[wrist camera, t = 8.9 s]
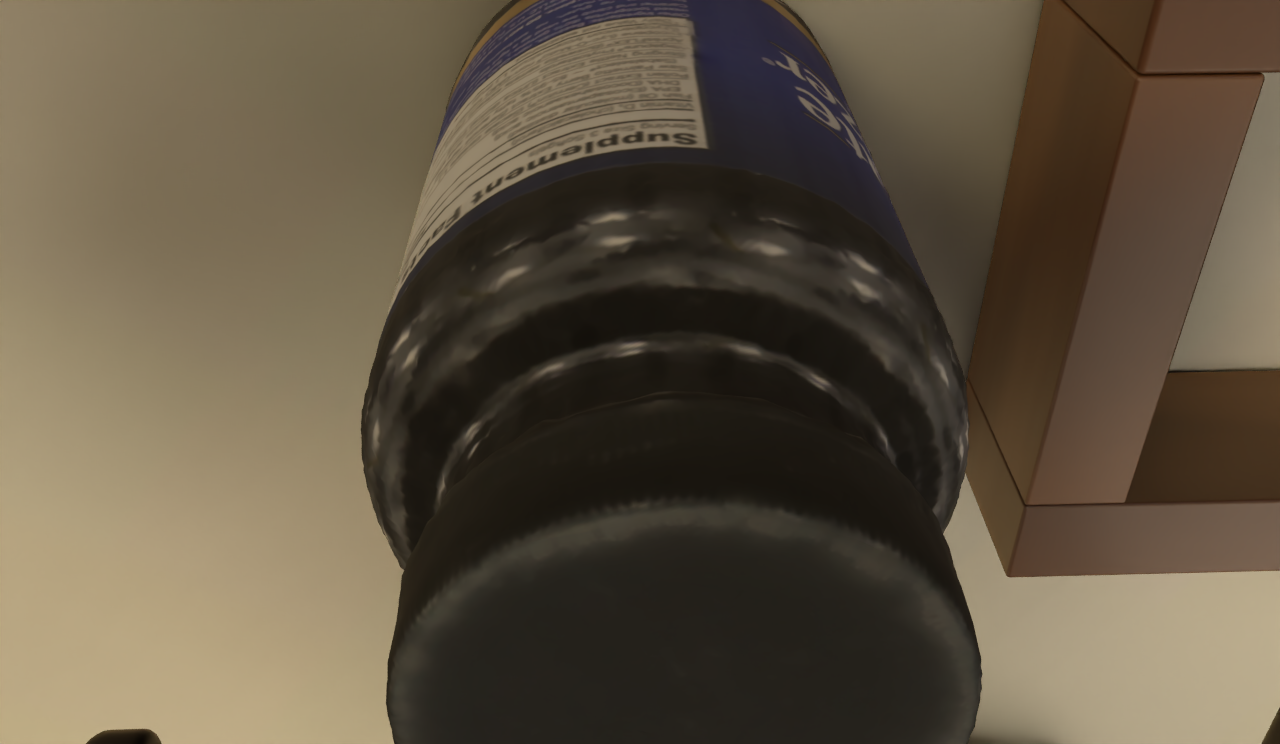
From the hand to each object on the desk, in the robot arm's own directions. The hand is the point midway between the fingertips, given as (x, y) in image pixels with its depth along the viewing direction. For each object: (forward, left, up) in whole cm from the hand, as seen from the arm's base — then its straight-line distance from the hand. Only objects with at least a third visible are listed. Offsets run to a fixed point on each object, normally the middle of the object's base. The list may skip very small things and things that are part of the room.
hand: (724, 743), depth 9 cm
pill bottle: (0, 0, -11) cm, 11 cm away
